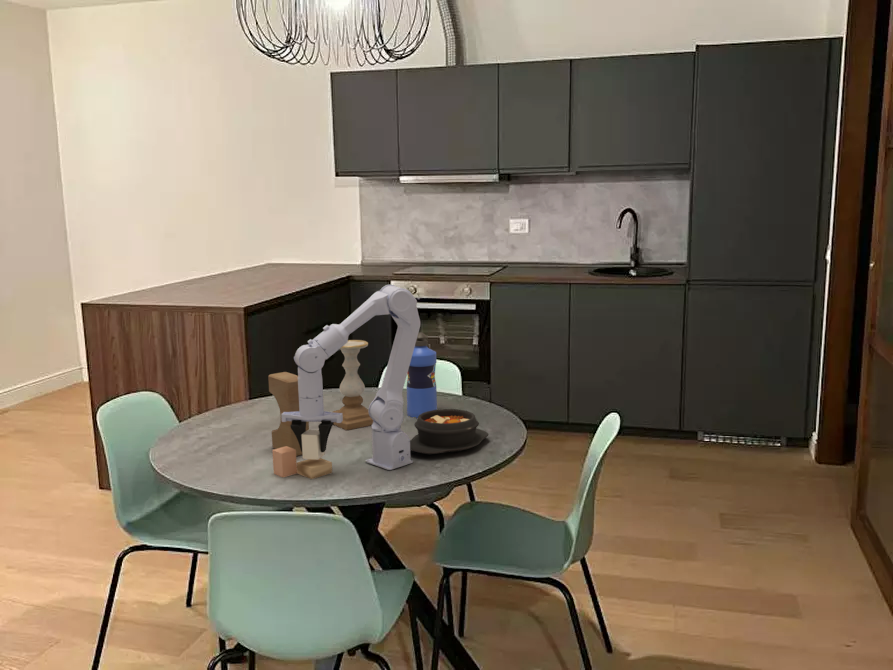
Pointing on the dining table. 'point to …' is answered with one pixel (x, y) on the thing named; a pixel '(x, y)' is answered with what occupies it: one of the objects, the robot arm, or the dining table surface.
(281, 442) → the decorative block
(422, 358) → the water bottle
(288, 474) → the terracotta cube
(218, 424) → the dining table surface
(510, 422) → the dining table surface
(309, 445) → the cream cube
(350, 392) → the candle holder
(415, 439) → the casserole
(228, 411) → the dining table surface
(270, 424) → the dining table surface
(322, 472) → the oak block
